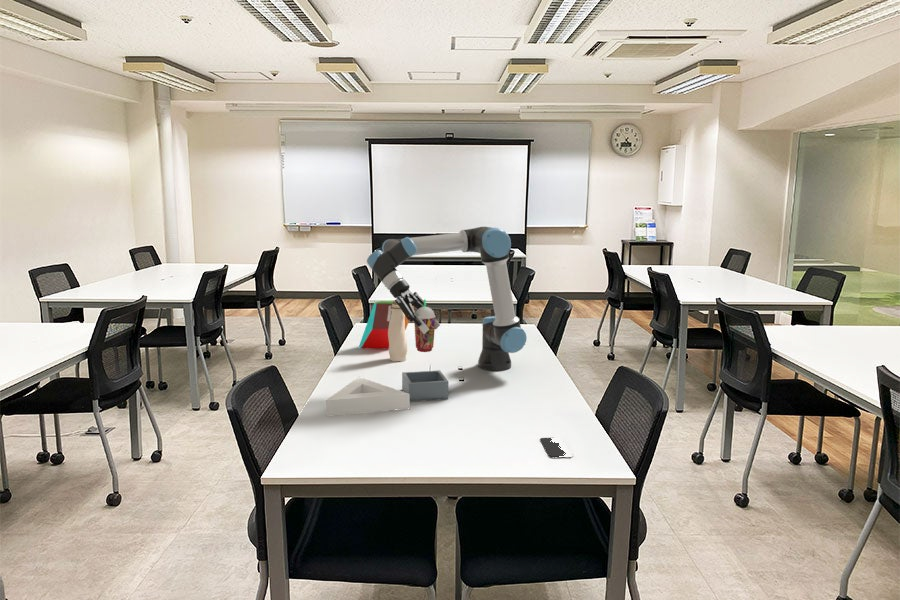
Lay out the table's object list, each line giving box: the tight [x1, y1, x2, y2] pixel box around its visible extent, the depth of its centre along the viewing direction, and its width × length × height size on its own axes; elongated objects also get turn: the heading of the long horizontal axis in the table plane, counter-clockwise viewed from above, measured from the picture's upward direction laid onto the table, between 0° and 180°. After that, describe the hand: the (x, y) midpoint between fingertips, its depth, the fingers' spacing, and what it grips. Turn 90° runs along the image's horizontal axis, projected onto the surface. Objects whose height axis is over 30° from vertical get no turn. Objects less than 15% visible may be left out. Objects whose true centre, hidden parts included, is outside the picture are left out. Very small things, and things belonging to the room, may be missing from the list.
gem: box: [358, 300, 415, 349], centre depth 319 cm, size 15×29×24 cm, turn 93°
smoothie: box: [413, 298, 437, 353], centre depth 243 cm, size 8×8×20 cm
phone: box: [539, 437, 566, 457], centre depth 197 cm, size 7×1×15 cm
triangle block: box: [325, 376, 410, 417], centre depth 239 cm, size 30×26×6 cm
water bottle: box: [387, 299, 408, 362], centre depth 296 cm, size 10×9×28 cm
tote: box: [401, 369, 449, 402], centre depth 247 cm, size 15×15×7 cm
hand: (432, 329), depth 242 cm, fingers closed on smoothie, 8 cm apart
